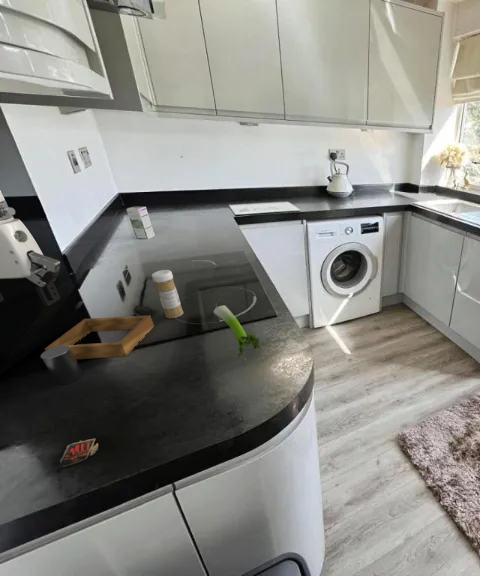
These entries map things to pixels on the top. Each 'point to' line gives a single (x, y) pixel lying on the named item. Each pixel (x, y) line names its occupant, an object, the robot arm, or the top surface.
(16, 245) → the robot arm
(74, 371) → the gray metal cup
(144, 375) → the top surface
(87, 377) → the top surface
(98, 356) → the wooden frame
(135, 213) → the syrup box
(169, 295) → the sprinkles bottle
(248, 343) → the celery stalk
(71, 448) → the matchbox
